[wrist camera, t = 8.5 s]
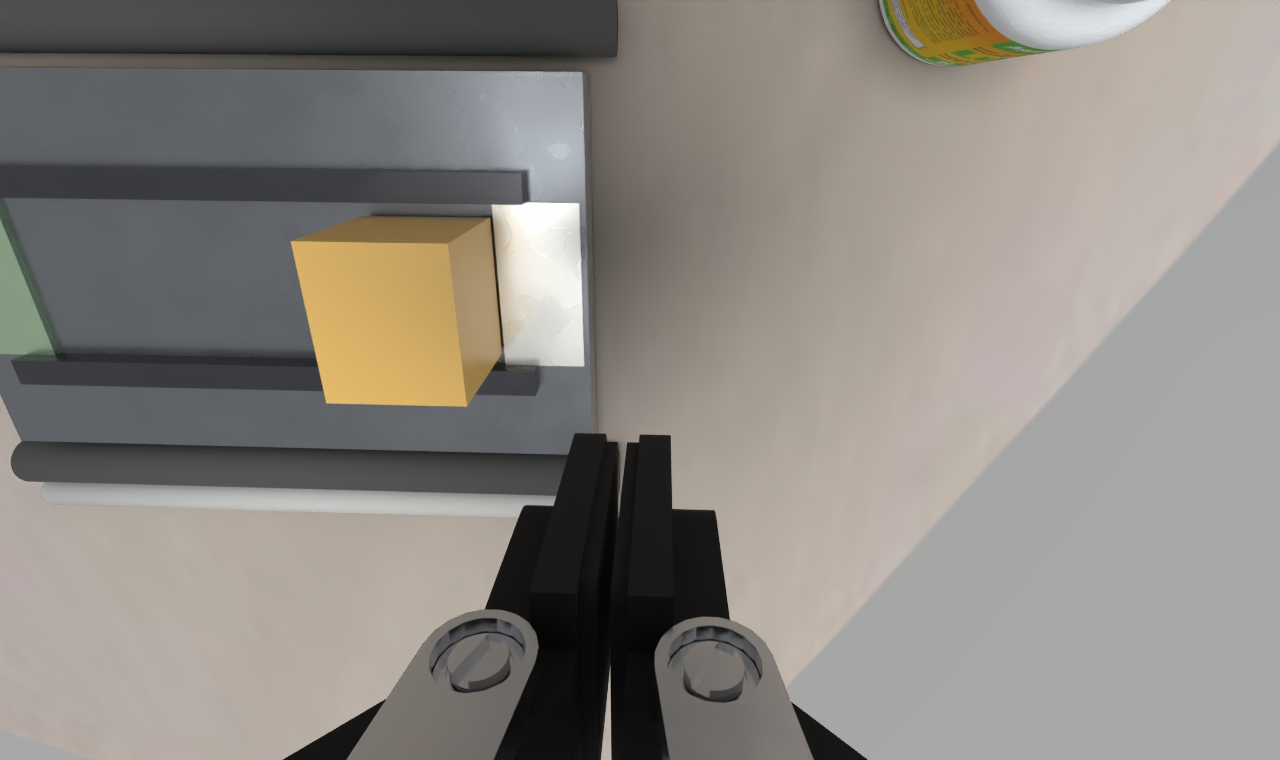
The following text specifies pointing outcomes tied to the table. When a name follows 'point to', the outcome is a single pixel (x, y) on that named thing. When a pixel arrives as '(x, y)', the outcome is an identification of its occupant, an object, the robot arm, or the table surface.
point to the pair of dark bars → (277, 476)
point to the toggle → (401, 308)
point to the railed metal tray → (279, 249)
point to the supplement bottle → (1006, 26)
